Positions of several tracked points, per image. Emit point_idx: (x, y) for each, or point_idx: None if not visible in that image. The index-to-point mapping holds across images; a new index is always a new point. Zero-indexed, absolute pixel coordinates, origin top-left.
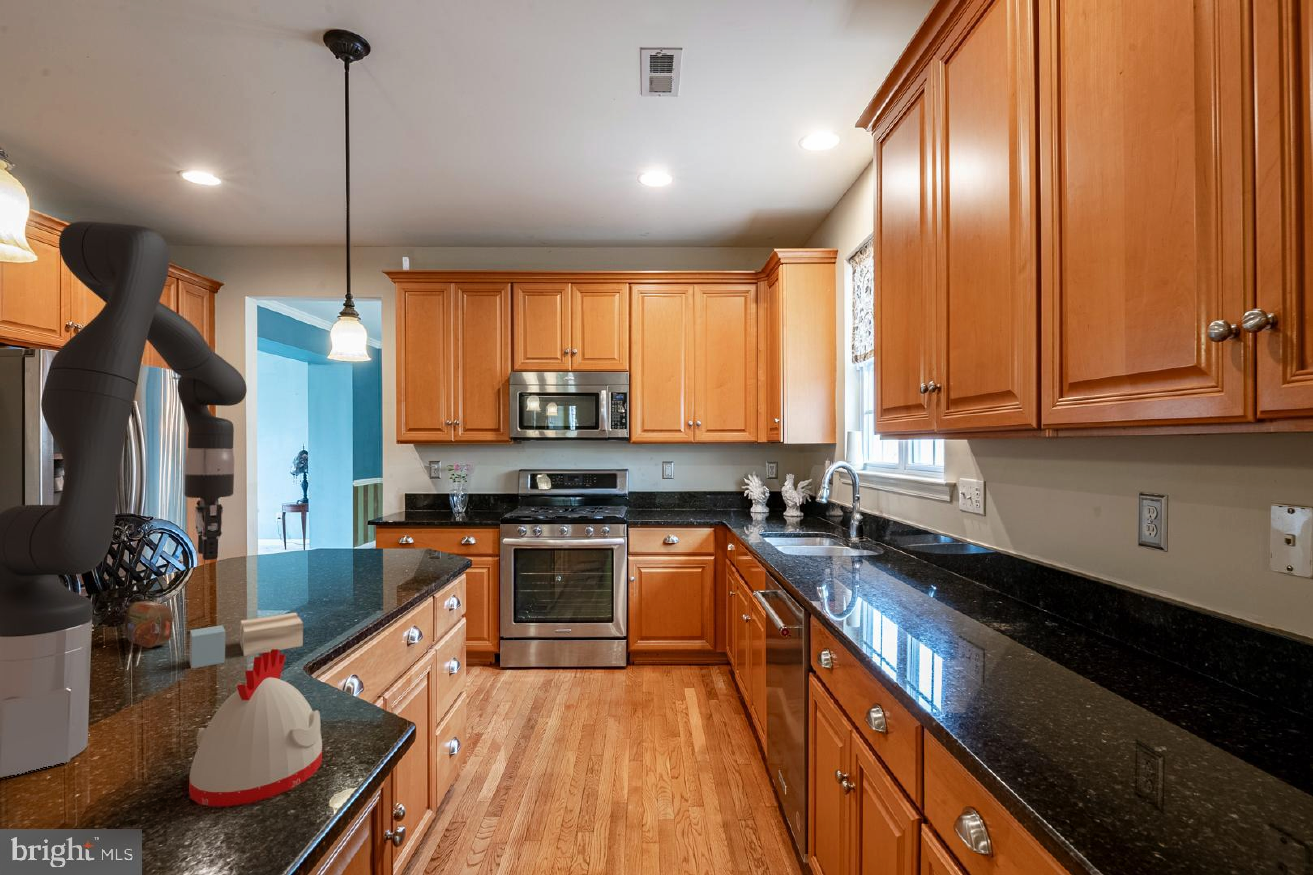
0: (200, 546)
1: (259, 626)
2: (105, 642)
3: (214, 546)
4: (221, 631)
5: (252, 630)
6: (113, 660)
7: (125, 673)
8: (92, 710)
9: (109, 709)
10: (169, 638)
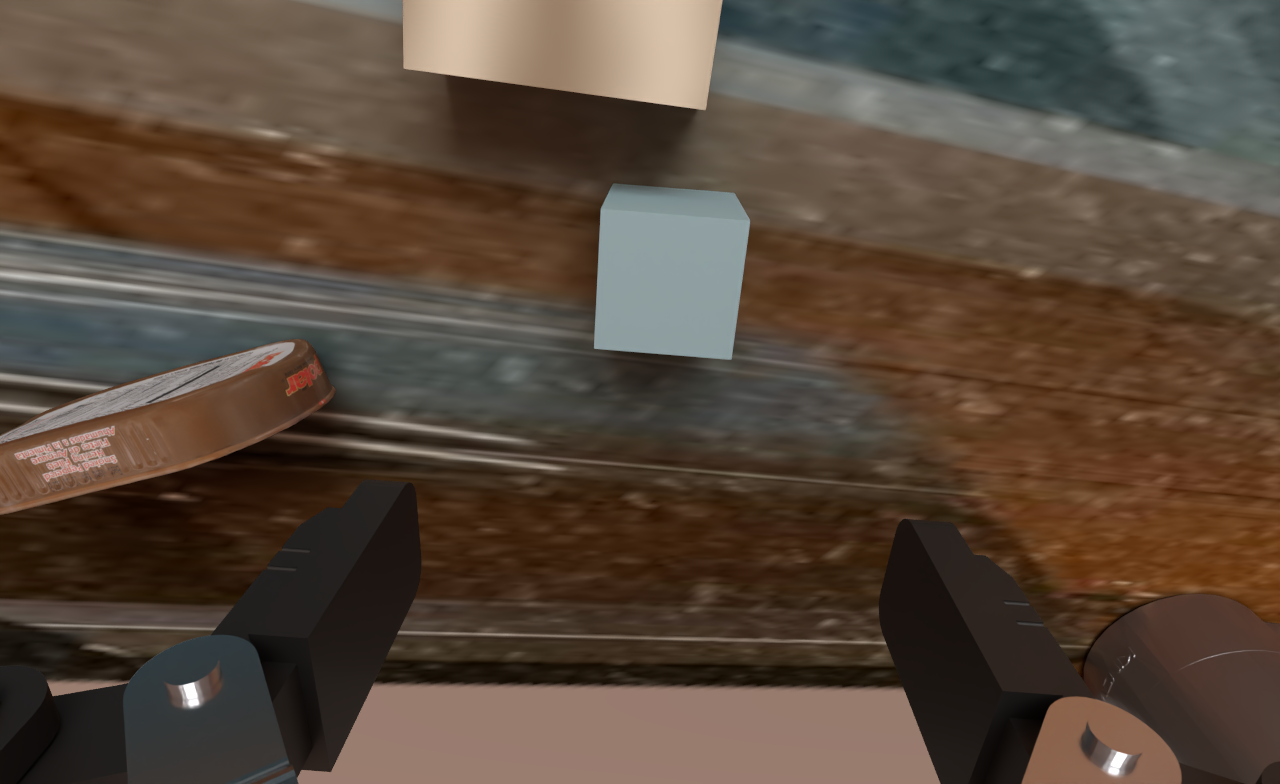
0: (394, 626)
1: (637, 8)
2: (114, 491)
3: (1052, 658)
4: (739, 238)
5: (705, 66)
6: None
7: (604, 478)
8: None
9: None
10: (309, 343)
